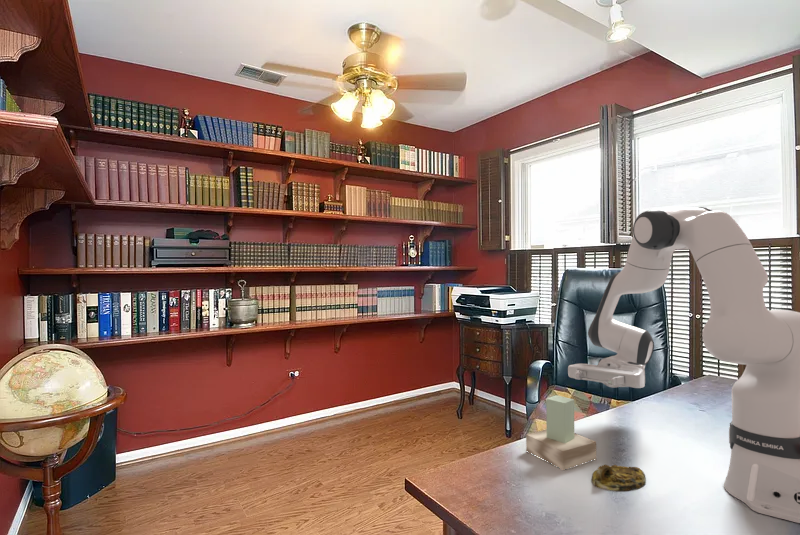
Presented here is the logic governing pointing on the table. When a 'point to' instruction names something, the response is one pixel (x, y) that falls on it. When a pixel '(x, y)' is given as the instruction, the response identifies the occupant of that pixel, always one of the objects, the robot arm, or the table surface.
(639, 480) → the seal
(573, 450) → the plinth
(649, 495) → the table surface
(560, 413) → the green block
